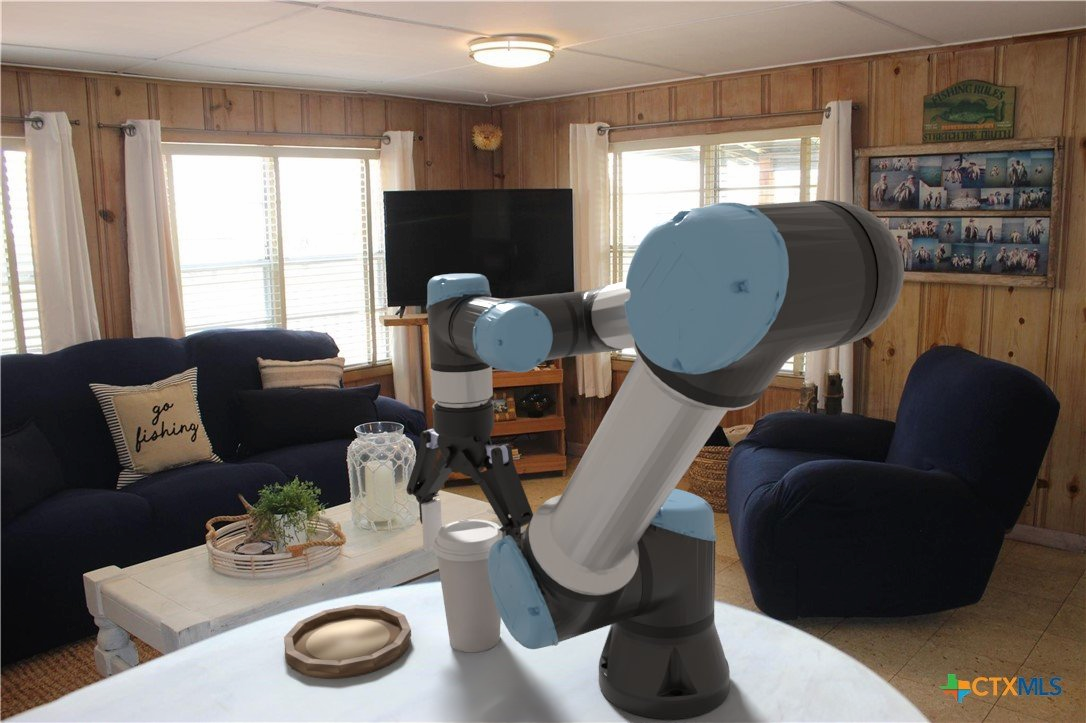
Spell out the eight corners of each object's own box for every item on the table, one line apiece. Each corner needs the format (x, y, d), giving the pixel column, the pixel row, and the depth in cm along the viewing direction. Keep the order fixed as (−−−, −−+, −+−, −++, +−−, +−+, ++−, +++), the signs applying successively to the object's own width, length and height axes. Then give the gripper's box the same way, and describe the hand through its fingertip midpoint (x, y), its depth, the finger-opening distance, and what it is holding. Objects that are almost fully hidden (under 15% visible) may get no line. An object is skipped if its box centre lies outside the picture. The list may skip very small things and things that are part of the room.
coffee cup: (516, 623, 121) (511, 517, 118) (506, 659, 111) (501, 545, 108) (446, 621, 122) (440, 516, 119) (430, 658, 112) (423, 544, 109)
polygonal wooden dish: (435, 639, 117) (434, 627, 116) (336, 693, 105) (335, 678, 105) (359, 606, 127) (358, 594, 126) (260, 651, 115) (259, 638, 115)
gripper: (560, 408, 105) (564, 577, 110) (417, 381, 121) (425, 529, 125) (517, 422, 100) (523, 599, 104) (373, 392, 116) (383, 547, 120)
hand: (469, 561), depth 115 cm, fingers open, 13 cm apart
